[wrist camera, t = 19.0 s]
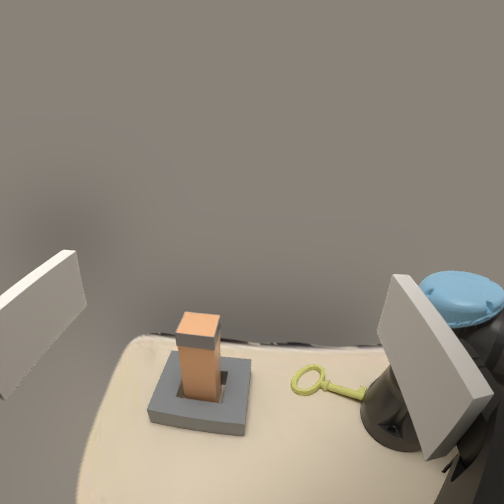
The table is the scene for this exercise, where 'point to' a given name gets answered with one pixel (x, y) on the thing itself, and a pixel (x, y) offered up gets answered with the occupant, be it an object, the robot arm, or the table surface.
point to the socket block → (202, 412)
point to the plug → (200, 355)
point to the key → (324, 384)
